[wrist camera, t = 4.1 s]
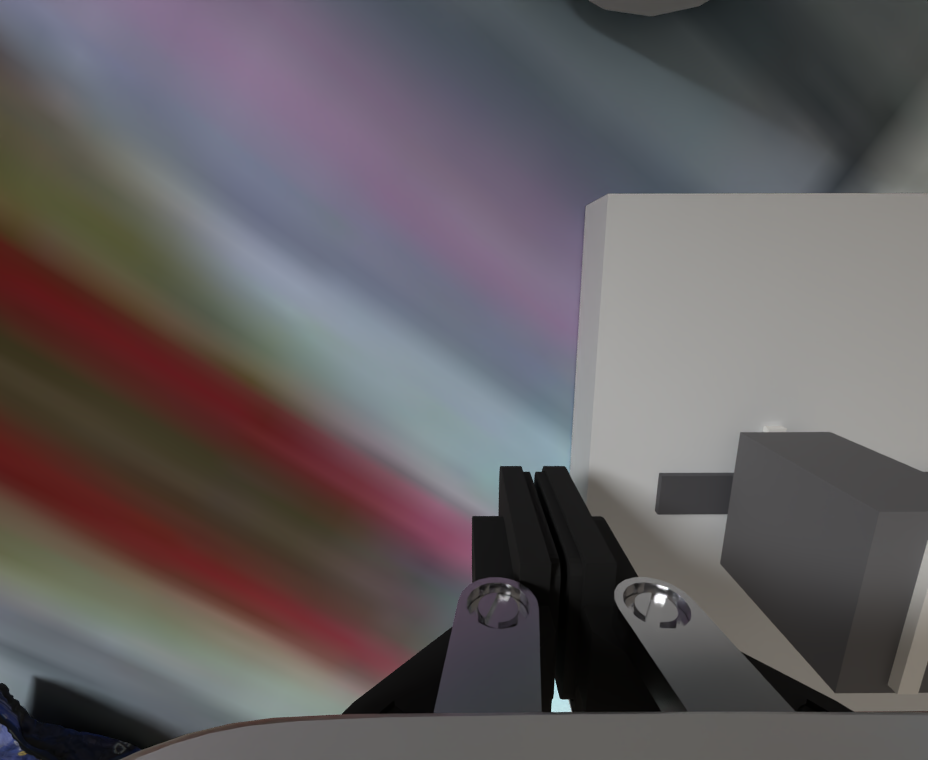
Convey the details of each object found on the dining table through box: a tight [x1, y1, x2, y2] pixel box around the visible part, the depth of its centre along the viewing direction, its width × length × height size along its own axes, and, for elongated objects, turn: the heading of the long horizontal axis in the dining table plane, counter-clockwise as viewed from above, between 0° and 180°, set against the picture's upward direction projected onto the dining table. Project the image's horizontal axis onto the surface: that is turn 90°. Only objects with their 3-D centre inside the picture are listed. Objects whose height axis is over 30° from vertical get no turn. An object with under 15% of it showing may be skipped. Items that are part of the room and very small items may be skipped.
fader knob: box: [720, 432, 928, 694], centre depth 10 cm, size 4×2×4 cm, turn 0°
